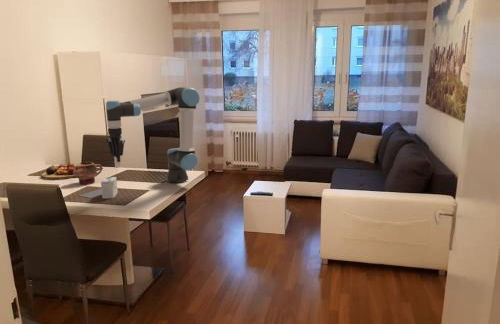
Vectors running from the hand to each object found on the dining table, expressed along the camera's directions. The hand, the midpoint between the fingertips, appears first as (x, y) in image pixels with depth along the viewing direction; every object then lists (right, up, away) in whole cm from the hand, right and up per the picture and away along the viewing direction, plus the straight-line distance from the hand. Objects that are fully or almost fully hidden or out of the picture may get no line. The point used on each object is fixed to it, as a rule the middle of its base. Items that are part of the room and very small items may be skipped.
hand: (117, 167), depth 227 cm
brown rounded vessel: (-34, -12, +40) cm, 53 cm away
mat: (-18, -17, +14) cm, 28 cm away
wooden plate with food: (-62, -7, +63) cm, 89 cm away
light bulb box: (-8, -18, +9) cm, 21 cm away
